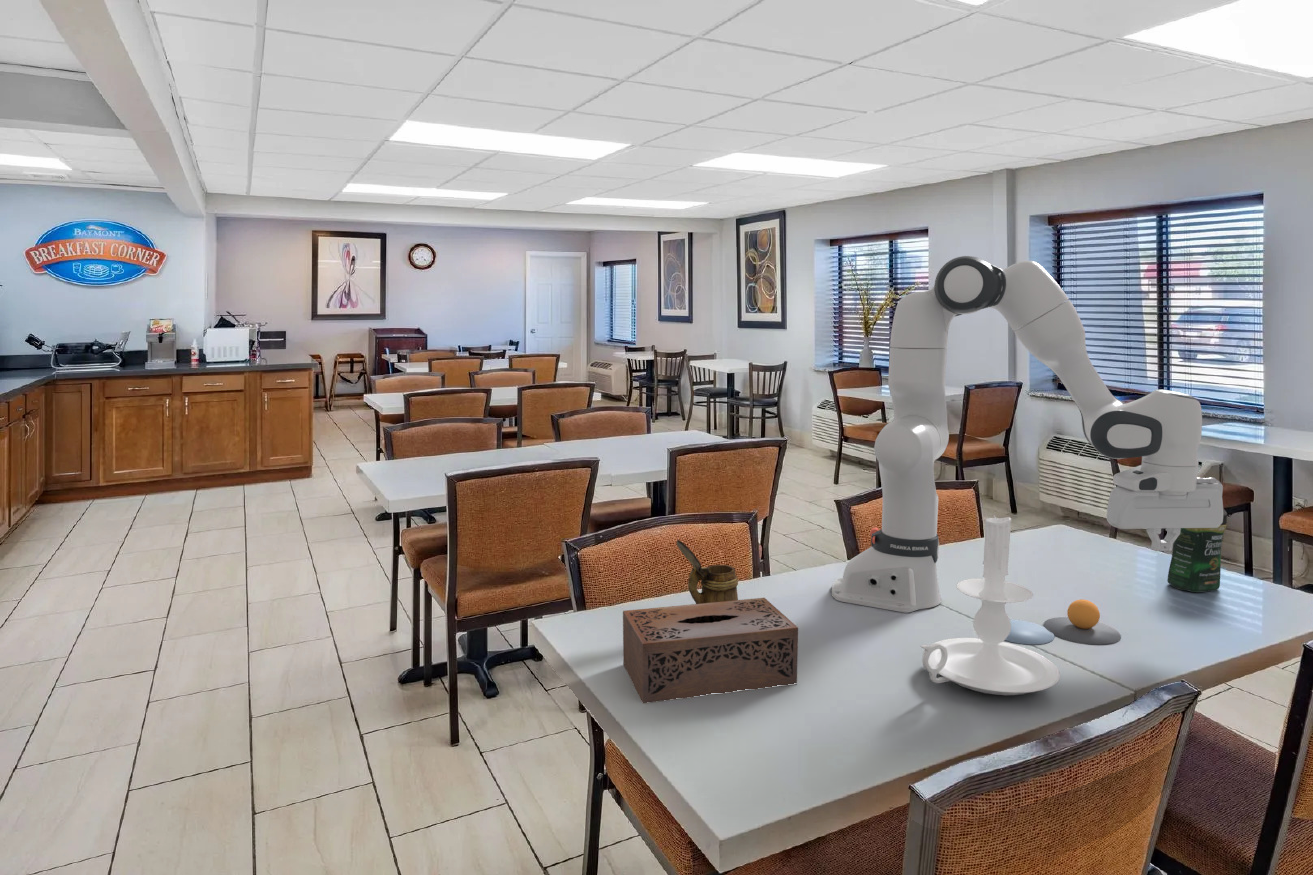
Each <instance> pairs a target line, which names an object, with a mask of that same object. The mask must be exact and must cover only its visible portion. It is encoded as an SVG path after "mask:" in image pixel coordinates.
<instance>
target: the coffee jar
mask: <svg viewBox="0 0 1313 875" xmlns="http://www.w3.org/2000/svg"><path fill="white" fill-rule="evenodd" d="M1227 524H1228V513H1227V511H1226V510H1225V508H1224V507H1223V522H1222V524H1221V525H1220V526H1219V527H1218V528H1181V531H1180V535H1179V536H1178V537H1177V539H1176V540H1175V541H1174V542H1173V548H1172V551H1171V552H1172V553H1171V560H1170V563H1169V568H1168V572H1167V573H1168V574H1167V580H1166V581H1167V583H1168V584H1169V585H1171V586H1172V587H1173V588H1175V589H1177V590H1181V591H1183V590H1184V591H1189V592H1191V593H1192V592H1193V593H1205V592H1206V593H1207V592H1214V591H1217V590H1219V589H1220V588H1221V587H1220V586H1221V573H1222V572H1221V571H1222V570H1221V568H1222V567H1221V562H1222V559H1221V558H1222V546H1223V545H1222V544H1223V537H1224V534H1225V531H1226V529H1227Z"/></svg>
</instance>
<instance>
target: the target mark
mask: <svg viewBox="0 0 1313 875" xmlns="http://www.w3.org/2000/svg"><path fill="white" fill-rule="evenodd" d="M1042 626H1043V627H1045V628H1047V629H1048V630H1050V631H1051V632H1052V633H1053V634H1054V637H1057V638H1060V639H1062V640H1065V641H1068V642H1073V643H1077V642H1079V643H1078V644H1083V643H1084V645H1093V646H1095V645H1097V646H1104V645H1105V646H1106V645H1112V644H1116V643H1118V642H1120V641H1121V638H1122V637H1121V636H1122V635H1121V634H1120V632H1119V631H1118V630H1116V629H1115V628H1113V627H1112V626H1110V625H1108V624H1105V623H1101V622H1099V621H1098V623H1097V624H1096V625H1095V626H1094V627H1092V628H1089V629H1082V628H1078V627H1076V626H1075V625H1073V624H1072V623H1071V622H1070V620H1069V618H1068V616H1067V617H1066V616H1062V617H1061V616H1060V617H1051V618H1049V619H1047V620H1044V622H1043V624H1042Z"/></svg>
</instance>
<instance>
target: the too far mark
mask: <svg viewBox="0 0 1313 875" xmlns="http://www.w3.org/2000/svg"><path fill="white" fill-rule="evenodd" d="M1009 619H1010V622H1011V631H1010V633H1009V635H1008V636H1007V638H1006V639H1005V640H1004V642H1005V641H1006V642H1008V643H1009V642H1010V643H1012V644H1020V645H1027V646H1028V645H1029V646H1030V645H1031V646H1032V645H1033V646H1036V645H1045V644H1049V643H1051V642H1053V641H1054V639H1055V635H1054V634H1053V633H1052V632H1051V631H1050V630H1048V629H1047V628H1045V627H1044V626H1043V625H1040V624H1038V623H1034V622H1031V621H1027V620H1020V619H1014V618H1013V619H1012V618H1009Z"/></svg>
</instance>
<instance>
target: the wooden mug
mask: <svg viewBox="0 0 1313 875" xmlns="http://www.w3.org/2000/svg"><path fill="white" fill-rule="evenodd" d="M676 546H677V547H678V549H679V550H680V552H681V553H682V554H683V556H685V558H686V559H687V561H688V562H689V563H690V564H691V565H692V569H691V571H690V573H689V576H688V582H687V586H688V592H689V593H690V596H691V598H692V600H693V601H694V602H695V603H694V604H702V603H712V602H723V601H733V600H739V596H738V585H739V580H738V576H737V574H736V568H735V567H733V566H731V565H729V564H714V565H708V566H702V564H701V562H700V560H699V559H698V558H697V556H696V555H695V554H694V552H693V551H692V550H691V549H690V547H688V546H687V544H685V543H684V542H683V541H681V540H679V539H677V540H676ZM699 583H700V585H701V591H700V592H699V590H698V584H699Z"/></svg>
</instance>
